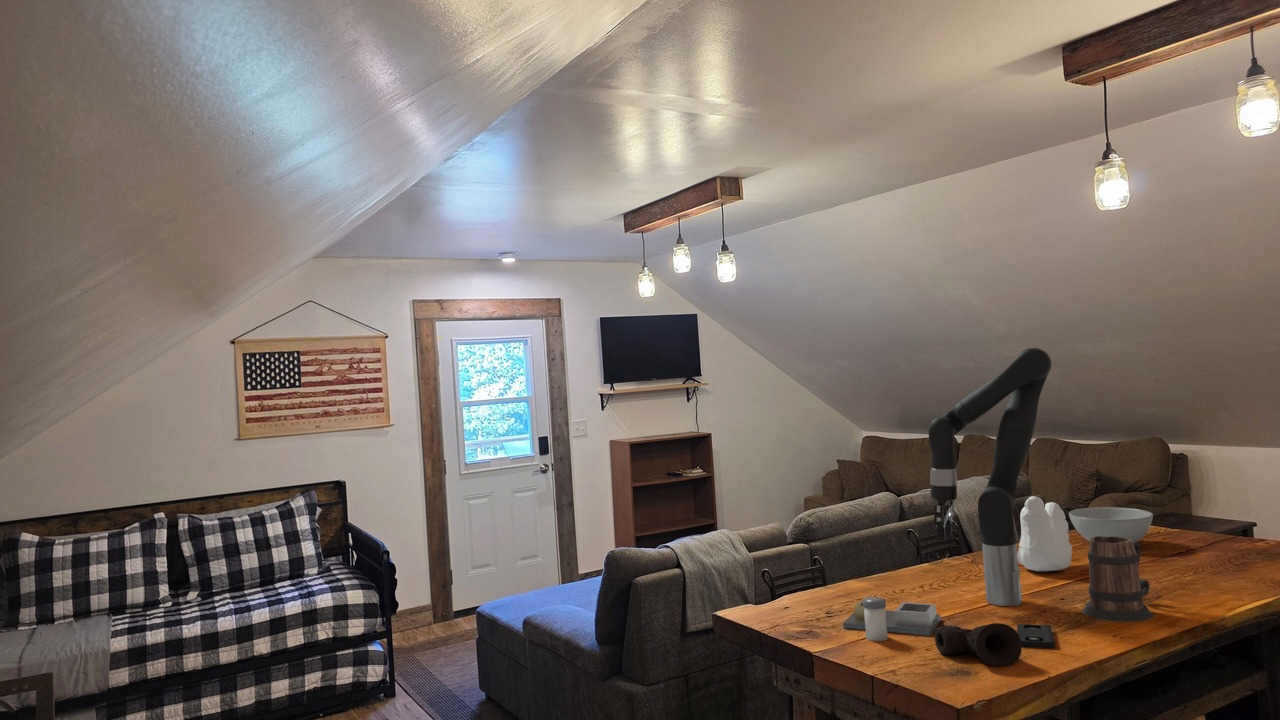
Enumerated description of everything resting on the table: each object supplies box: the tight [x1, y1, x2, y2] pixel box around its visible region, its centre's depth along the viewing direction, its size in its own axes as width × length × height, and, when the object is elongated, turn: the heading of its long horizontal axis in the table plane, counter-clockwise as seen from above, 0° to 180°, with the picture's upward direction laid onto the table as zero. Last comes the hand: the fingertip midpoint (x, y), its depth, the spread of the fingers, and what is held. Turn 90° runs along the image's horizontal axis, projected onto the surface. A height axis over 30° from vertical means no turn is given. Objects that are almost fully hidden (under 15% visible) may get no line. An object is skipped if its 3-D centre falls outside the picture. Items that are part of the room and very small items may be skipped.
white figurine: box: [1017, 495, 1073, 572], centre depth 280 cm, size 25×16×25 cm, turn 116°
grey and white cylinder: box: [862, 596, 888, 642], centre depth 221 cm, size 6×6×10 cm
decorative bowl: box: [1068, 506, 1154, 543], centre depth 306 cm, size 27×27×12 cm
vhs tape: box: [1016, 623, 1056, 650], centre depth 212 cm, size 14×8×2 cm, turn 157°
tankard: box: [1081, 536, 1154, 623], centre depth 231 cm, size 24×17×20 cm
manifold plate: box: [842, 600, 942, 637], centre depth 232 cm, size 23×15×5 cm, turn 60°
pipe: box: [934, 622, 1023, 668], centre depth 202 cm, size 10×15×15 cm
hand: (944, 537), depth 252 cm, fingers open, 8 cm apart
